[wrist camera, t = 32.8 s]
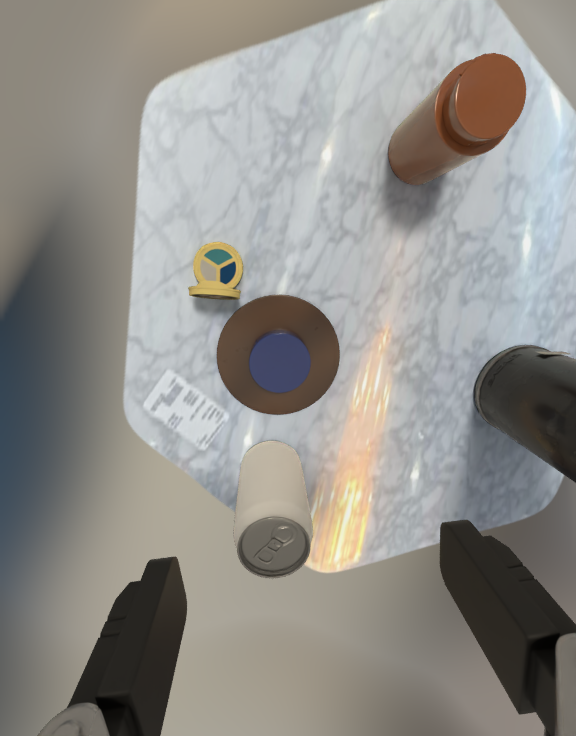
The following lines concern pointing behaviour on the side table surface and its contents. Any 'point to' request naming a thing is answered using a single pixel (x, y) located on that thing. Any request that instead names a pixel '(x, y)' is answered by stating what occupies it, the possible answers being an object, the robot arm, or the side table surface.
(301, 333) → the coaster
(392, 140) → the jar
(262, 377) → the jar lid
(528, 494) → the side table surface
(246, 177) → the side table surface
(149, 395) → the side table surface
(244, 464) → the can
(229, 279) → the eyeshadow
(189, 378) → the side table surface
